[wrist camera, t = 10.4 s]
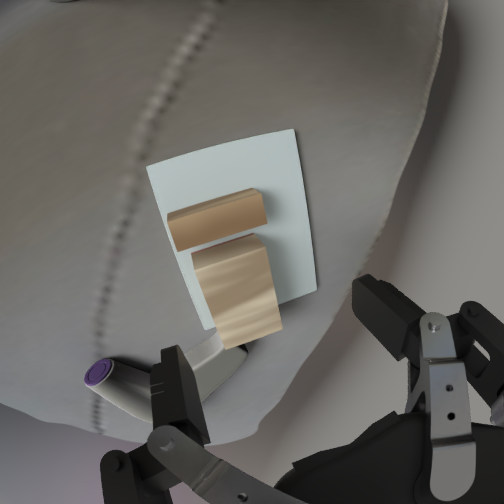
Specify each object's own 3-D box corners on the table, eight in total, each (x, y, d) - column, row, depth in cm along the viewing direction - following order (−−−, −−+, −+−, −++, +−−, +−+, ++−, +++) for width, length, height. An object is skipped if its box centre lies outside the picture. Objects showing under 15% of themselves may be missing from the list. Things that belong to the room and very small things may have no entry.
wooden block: (194, 270, 20) (225, 349, 23) (265, 246, 21) (282, 329, 24) (190, 252, 22) (218, 328, 26) (253, 232, 23) (271, 309, 27)
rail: (167, 213, 21) (167, 222, 19) (252, 187, 22) (261, 193, 20) (176, 240, 22) (177, 252, 20) (258, 215, 23) (267, 223, 21)
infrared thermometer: (245, 337, 30) (166, 408, 30) (159, 276, 24) (84, 367, 25) (259, 363, 26) (171, 435, 26) (161, 300, 20) (79, 396, 21)
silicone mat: (146, 166, 19) (146, 166, 19) (290, 129, 21) (293, 128, 21) (204, 326, 26) (205, 330, 26) (314, 287, 28) (316, 290, 28)
